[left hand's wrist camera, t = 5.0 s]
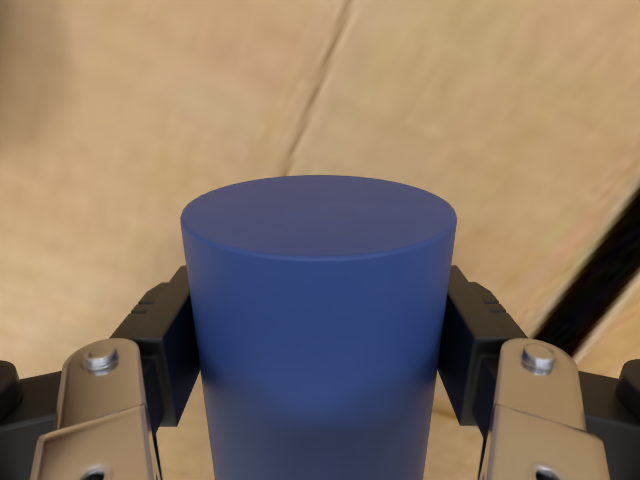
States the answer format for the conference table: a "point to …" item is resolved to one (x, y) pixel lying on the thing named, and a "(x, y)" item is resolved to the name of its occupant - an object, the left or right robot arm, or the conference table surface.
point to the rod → (318, 324)
